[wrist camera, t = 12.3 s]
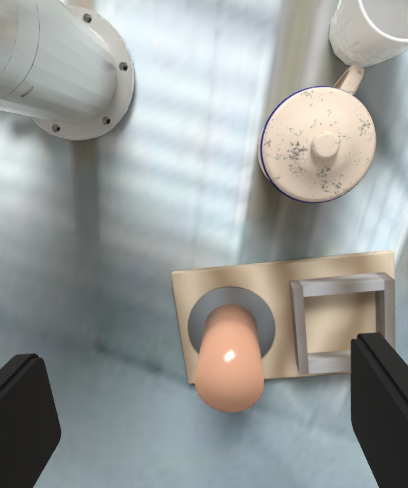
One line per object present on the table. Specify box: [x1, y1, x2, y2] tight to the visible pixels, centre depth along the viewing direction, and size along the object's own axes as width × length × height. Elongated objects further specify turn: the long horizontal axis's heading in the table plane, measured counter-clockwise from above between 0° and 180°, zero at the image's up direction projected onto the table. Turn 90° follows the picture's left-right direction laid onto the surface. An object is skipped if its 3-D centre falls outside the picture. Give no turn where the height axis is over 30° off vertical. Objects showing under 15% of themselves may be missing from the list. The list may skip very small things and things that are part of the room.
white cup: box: [329, 0, 408, 68], centre depth 29 cm, size 8×8×10 cm
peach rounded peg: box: [195, 304, 264, 412], centre depth 36 cm, size 8×6×10 cm
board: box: [171, 250, 395, 384], centre depth 39 cm, size 24×14×4 cm, turn 97°
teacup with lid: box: [257, 65, 376, 203], centre depth 31 cm, size 12×9×12 cm
